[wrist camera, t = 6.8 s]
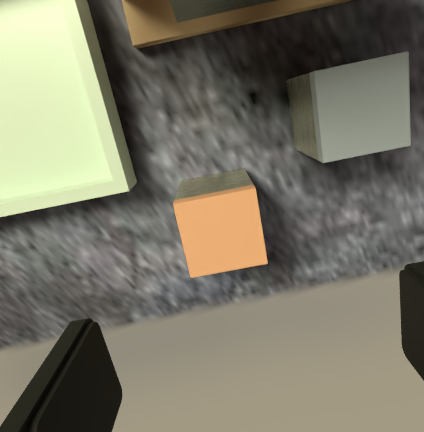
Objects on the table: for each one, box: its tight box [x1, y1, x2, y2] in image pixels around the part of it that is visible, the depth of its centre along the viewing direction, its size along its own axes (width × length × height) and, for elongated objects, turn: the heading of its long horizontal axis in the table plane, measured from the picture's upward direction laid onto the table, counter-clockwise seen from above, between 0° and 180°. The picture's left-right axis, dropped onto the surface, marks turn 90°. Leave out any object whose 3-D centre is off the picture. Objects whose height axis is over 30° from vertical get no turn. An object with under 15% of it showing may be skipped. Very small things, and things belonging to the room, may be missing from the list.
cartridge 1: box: [173, 168, 268, 278], centre depth 21 cm, size 4×4×6 cm
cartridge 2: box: [286, 51, 411, 163], centre depth 19 cm, size 4×4×6 cm
